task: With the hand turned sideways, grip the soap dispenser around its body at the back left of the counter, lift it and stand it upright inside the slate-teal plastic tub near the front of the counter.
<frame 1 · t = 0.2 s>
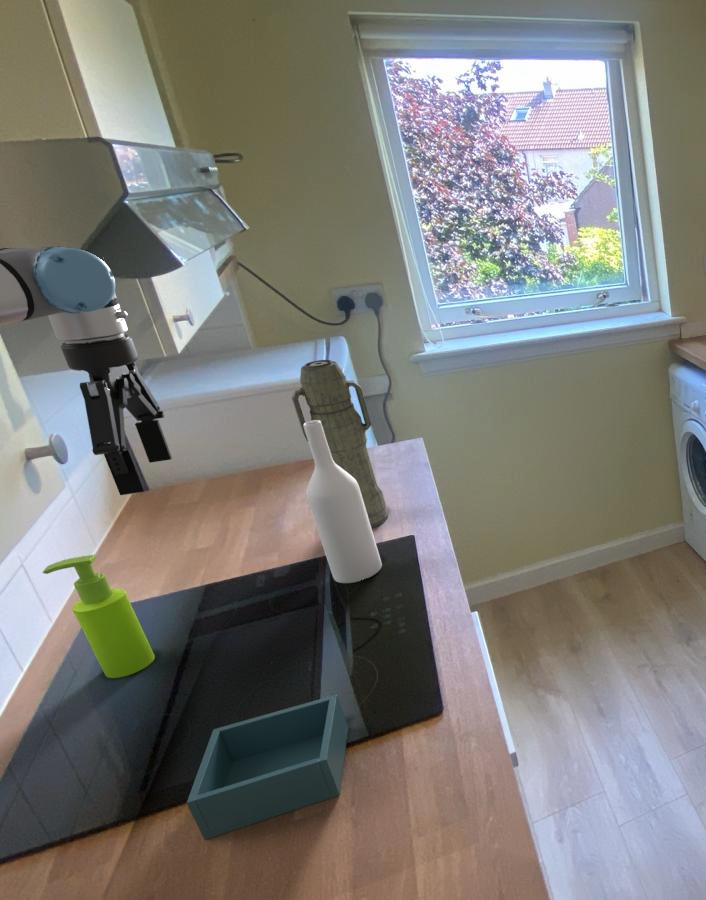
hand: (147, 475, 111), 28 cm above the worktop, tool pointing down, fingers open, 13 cm apart
bottle: (358, 572, 137), on the worktop
olive amphora vase: (366, 521, 157), on the worktop
tub: (282, 779, 92), on the worktop
soap dispenser: (129, 673, 112), on the worktop
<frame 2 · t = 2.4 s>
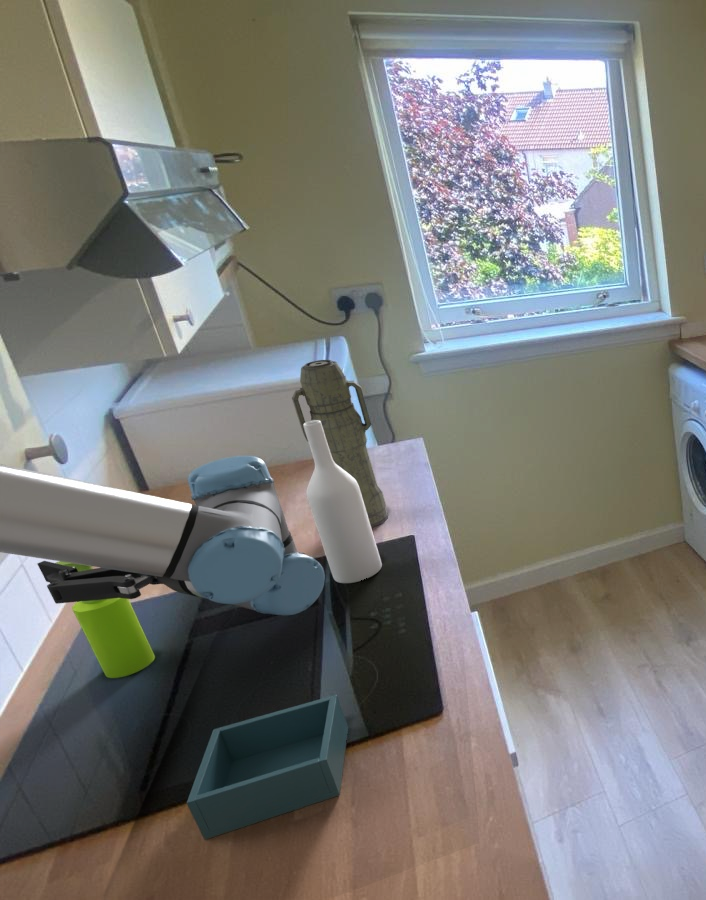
hand: (105, 545, 100), 24 cm above the worktop, tool horizontal, fingers open, 13 cm apart
nothing on the worktop moved.
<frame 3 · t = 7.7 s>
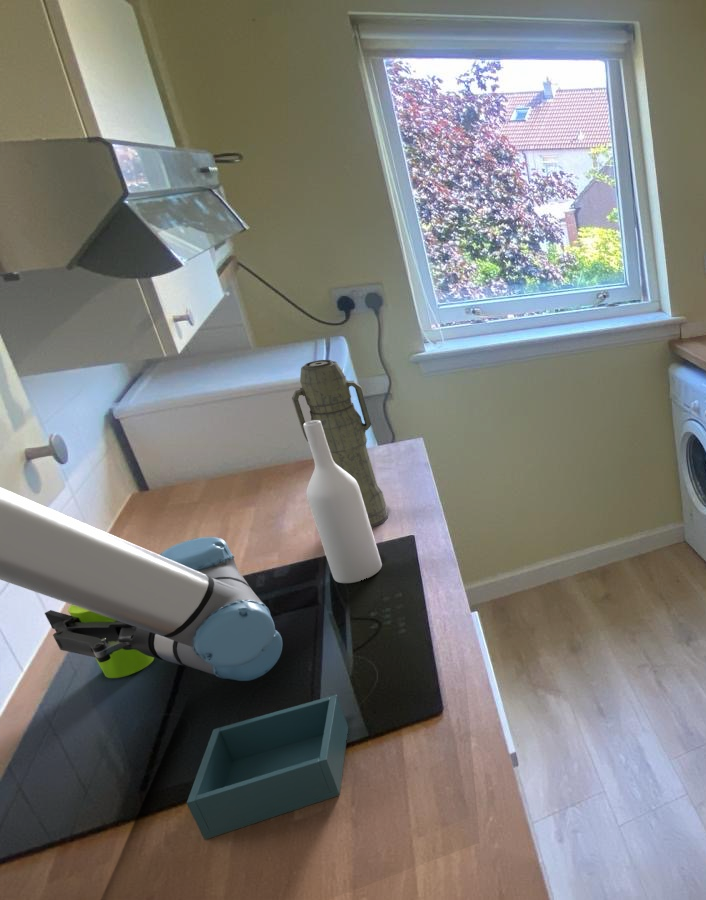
hand: (78, 606, 110), 11 cm above the worktop, tool horizontal, fingers closed on soap dispenser, 6 cm apart
soap dispenser: (129, 672, 112), on the worktop, touching gripper
everything else where it was.
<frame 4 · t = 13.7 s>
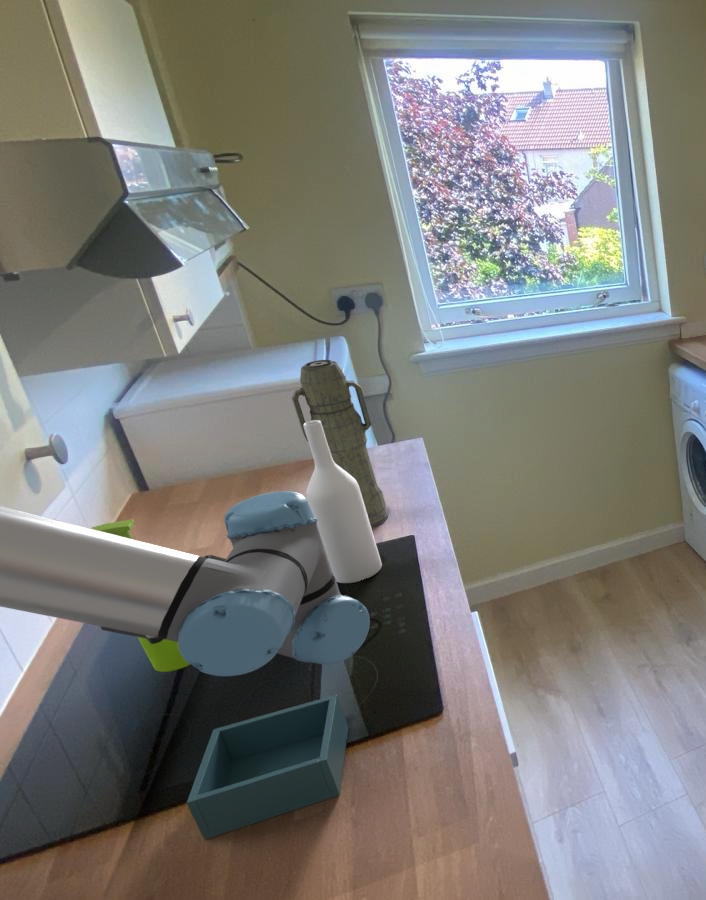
hand: (119, 580, 93), 23 cm above the worktop, tool horizontal, fingers closed on soap dispenser, 6 cm apart
soap dispenser: (177, 659, 96), point 12 cm above the worktop, touching gripper
everything else where it was.
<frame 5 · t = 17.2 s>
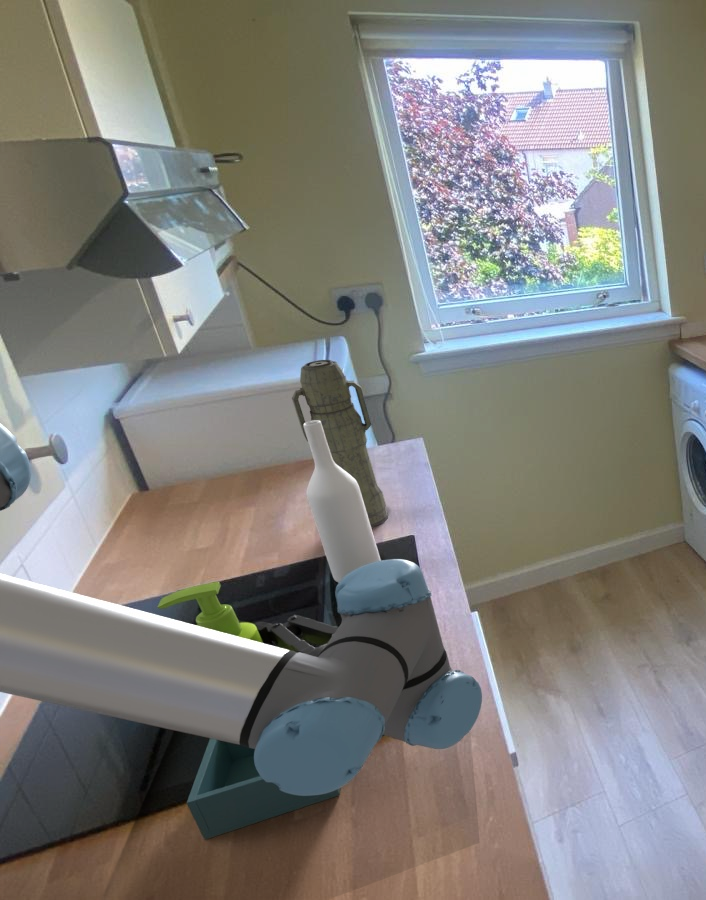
hand: (200, 645, 86), 19 cm above the worktop, tool horizontal, fingers closed on soap dispenser, 6 cm apart
soap dispenser: (261, 727, 89), point 8 cm above the worktop, touching gripper
everything else where it was.
when the fingers open (12 cm above the worktop, at t = 19.7 s): soap dispenser stays where it is, resting on tub.
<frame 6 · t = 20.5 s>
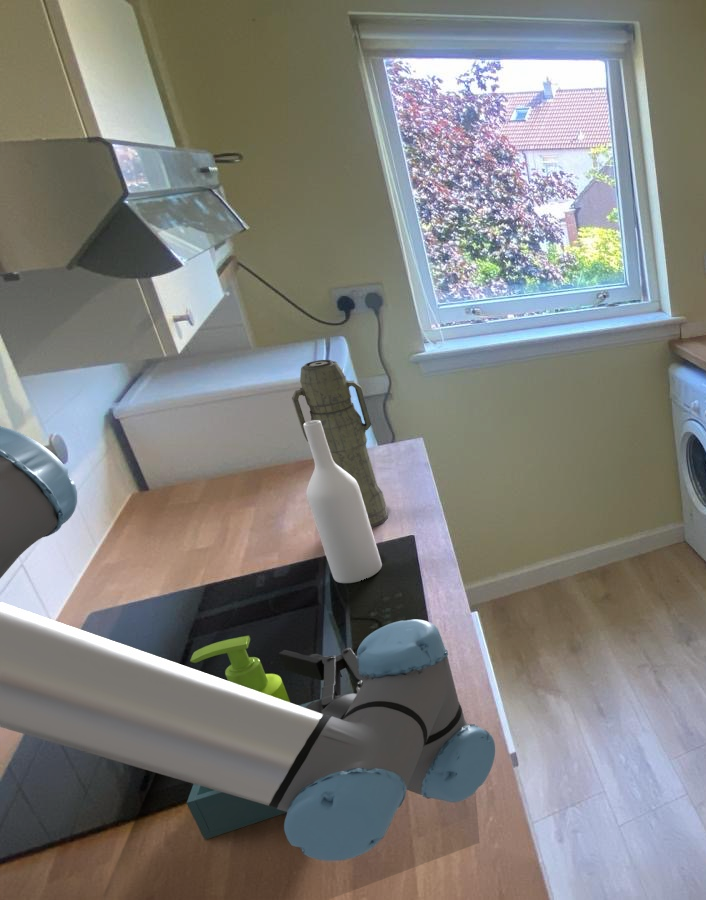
hand: (231, 695, 88), 12 cm above the worktop, tool horizontal, fingers open, 13 cm apart
soap dispenser: (281, 775, 92), point 1 cm above the worktop, touching tub
everything else where it was.
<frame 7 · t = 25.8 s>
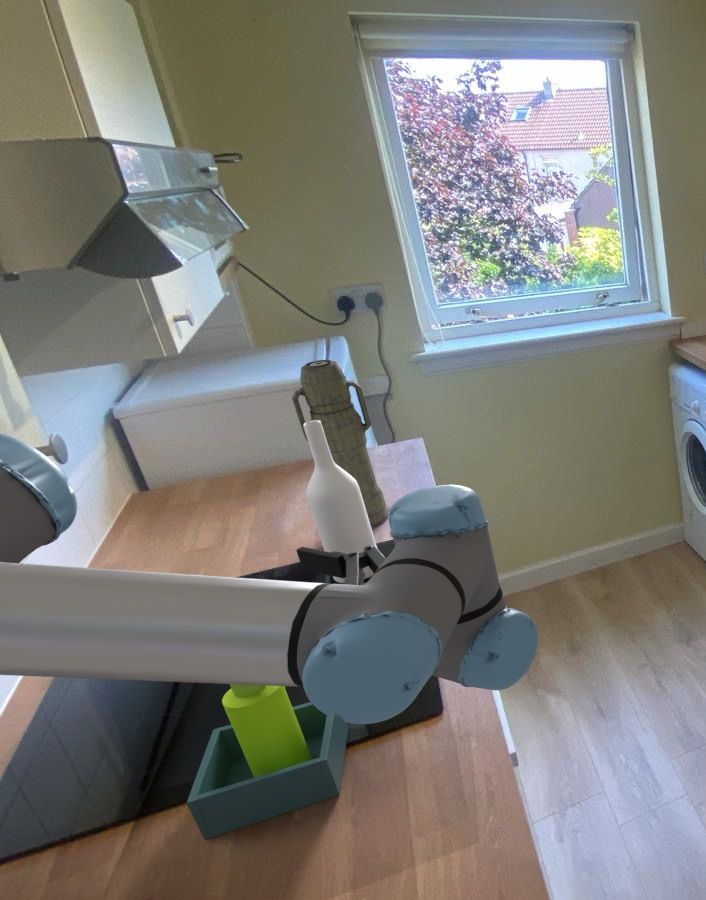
hand: (244, 589, 80), 28 cm above the worktop, tool horizontal, fingers open, 13 cm apart
nothing on the worktop moved.
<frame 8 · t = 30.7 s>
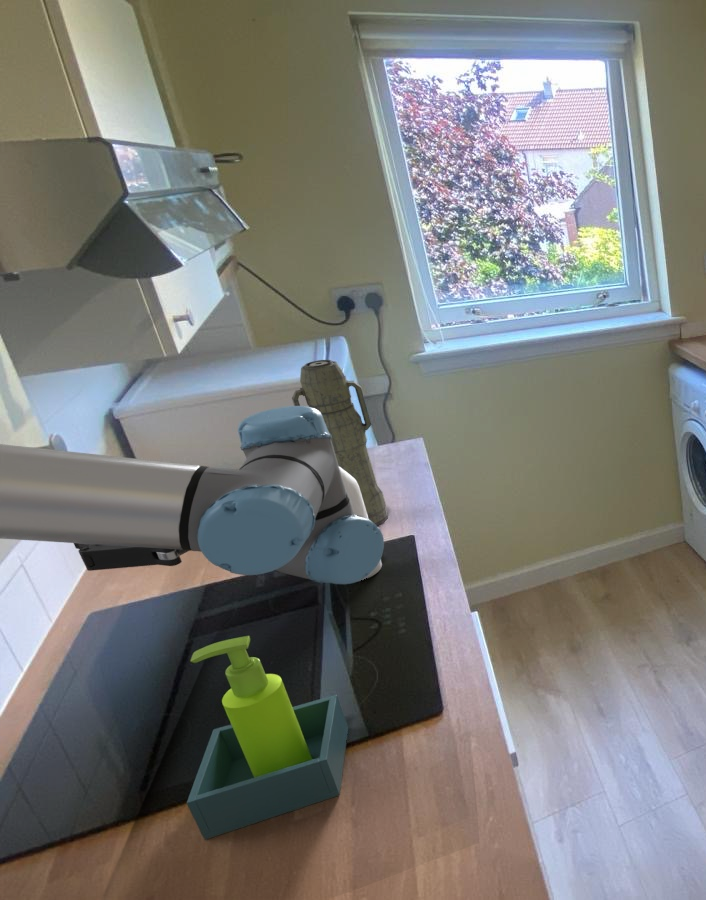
hand: (139, 510, 91), 32 cm above the worktop, tool horizontal, fingers open, 13 cm apart
nothing on the worktop moved.
at the end: soap dispenser inside the target area in the tub (0.1 cm from its centre), point 0.6 cm above the tub's base; soap dispenser tilted 0°; the gripper is holding nothing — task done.
